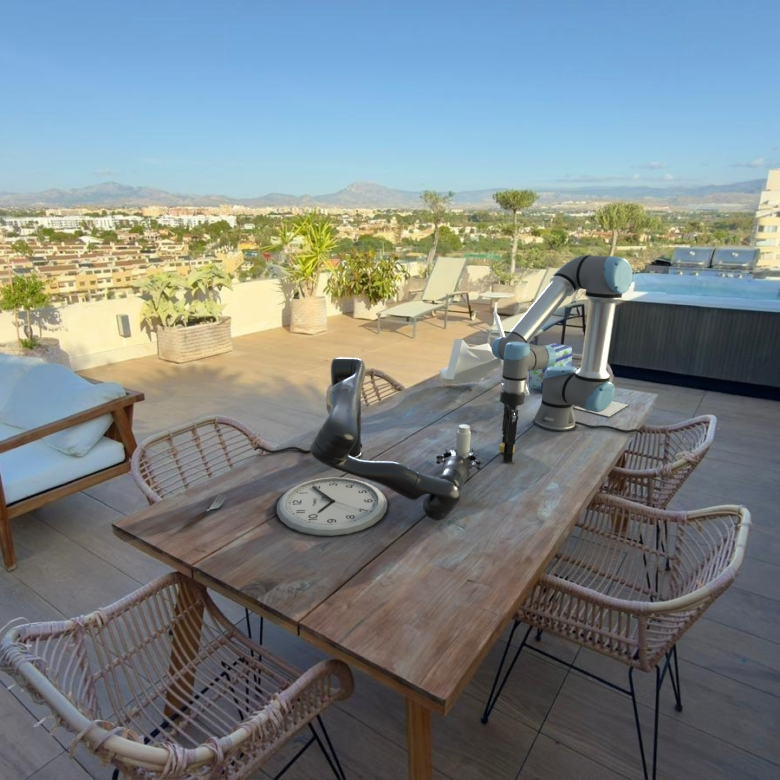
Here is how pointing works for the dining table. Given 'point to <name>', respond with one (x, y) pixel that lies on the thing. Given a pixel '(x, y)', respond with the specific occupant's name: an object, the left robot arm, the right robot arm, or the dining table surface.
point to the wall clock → (331, 506)
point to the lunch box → (562, 359)
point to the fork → (213, 506)
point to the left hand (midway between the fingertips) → (463, 450)
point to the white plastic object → (472, 361)
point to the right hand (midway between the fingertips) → (506, 457)
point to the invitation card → (608, 409)
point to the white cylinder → (463, 440)
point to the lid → (503, 447)
